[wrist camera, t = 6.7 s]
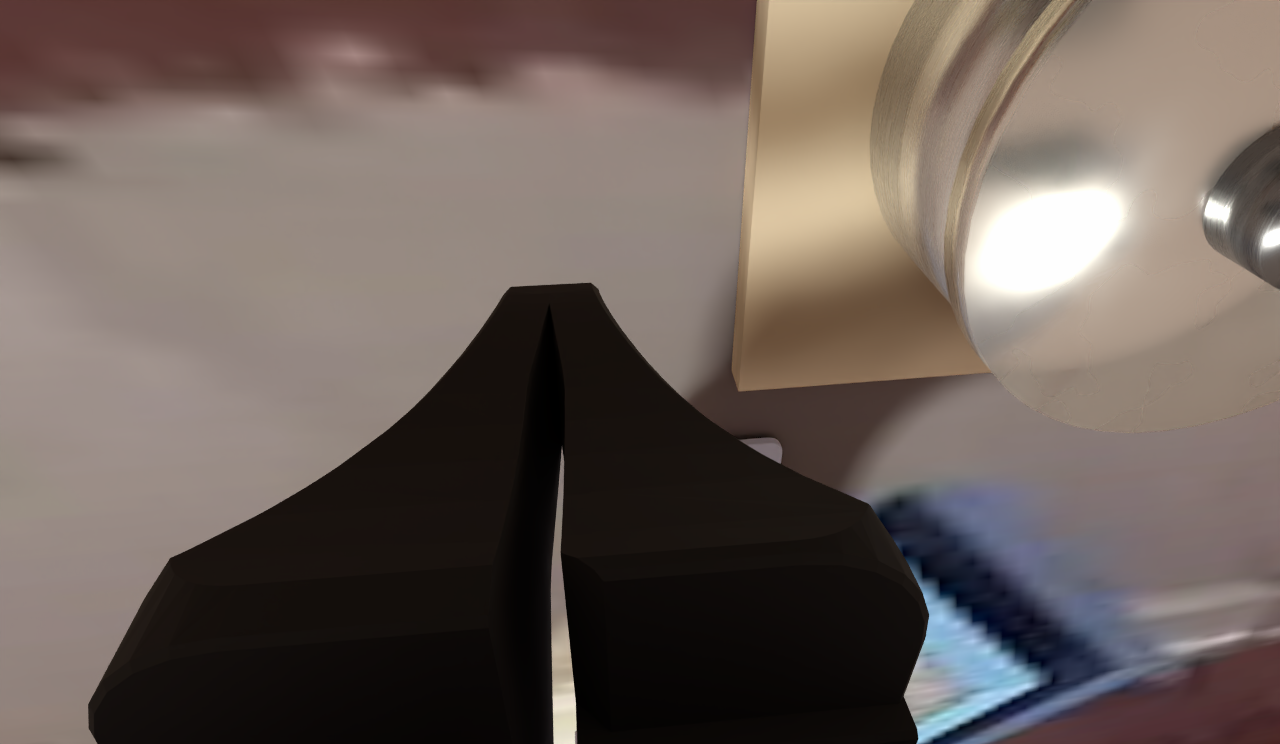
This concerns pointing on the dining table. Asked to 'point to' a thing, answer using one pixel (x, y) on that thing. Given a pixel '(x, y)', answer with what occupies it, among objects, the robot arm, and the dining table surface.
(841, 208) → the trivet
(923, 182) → the pot
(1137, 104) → the lid with handle
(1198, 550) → the dining table surface
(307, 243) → the dining table surface
